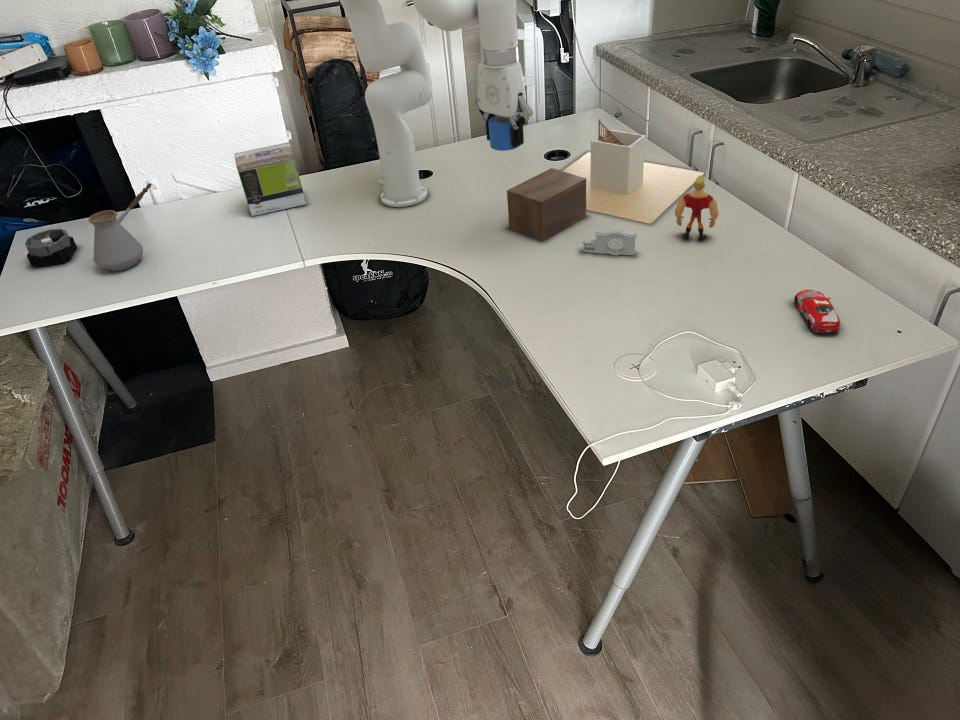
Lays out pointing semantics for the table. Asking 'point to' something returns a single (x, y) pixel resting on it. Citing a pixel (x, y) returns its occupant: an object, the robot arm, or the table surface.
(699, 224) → the action figure
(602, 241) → the lattice window wall
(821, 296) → the race car
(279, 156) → the tea box
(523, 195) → the brown boxy piece
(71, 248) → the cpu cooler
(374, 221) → the table surface
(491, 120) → the tape
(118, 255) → the coffee pot
